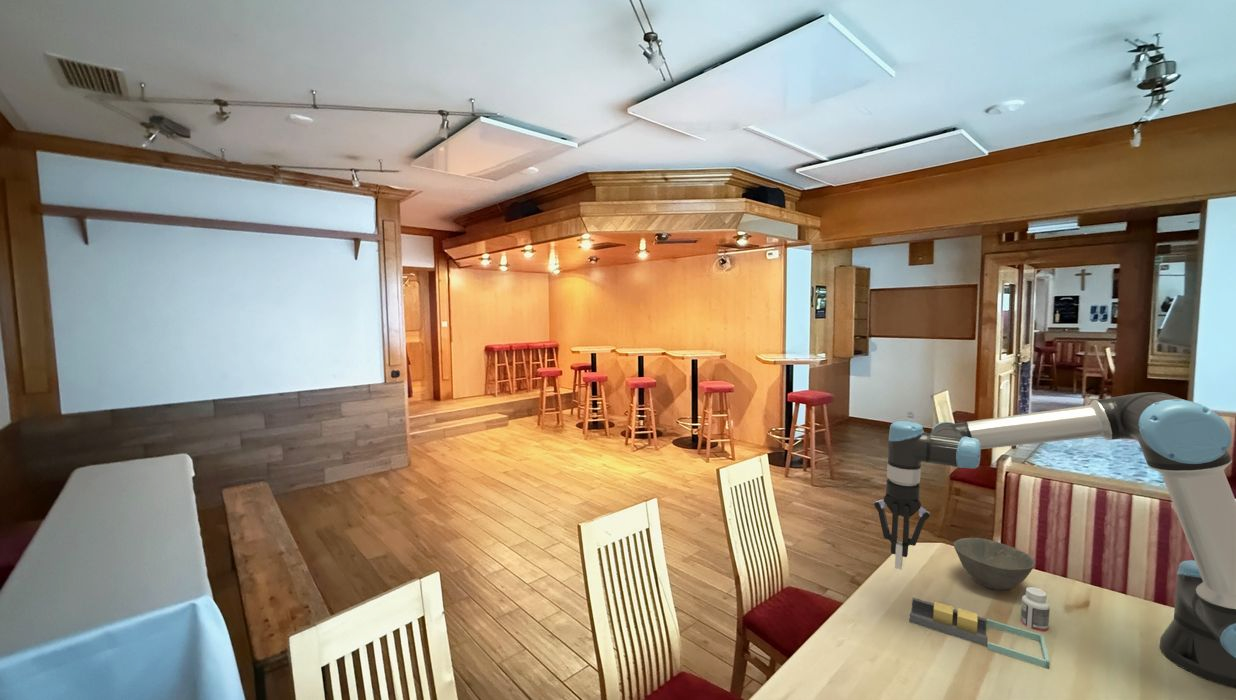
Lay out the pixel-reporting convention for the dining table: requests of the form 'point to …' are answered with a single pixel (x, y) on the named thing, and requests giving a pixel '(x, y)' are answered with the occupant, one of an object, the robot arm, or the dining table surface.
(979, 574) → the bowl
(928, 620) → the slot rail
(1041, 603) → the pill bottle
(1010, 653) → the tray
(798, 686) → the dining table surface
